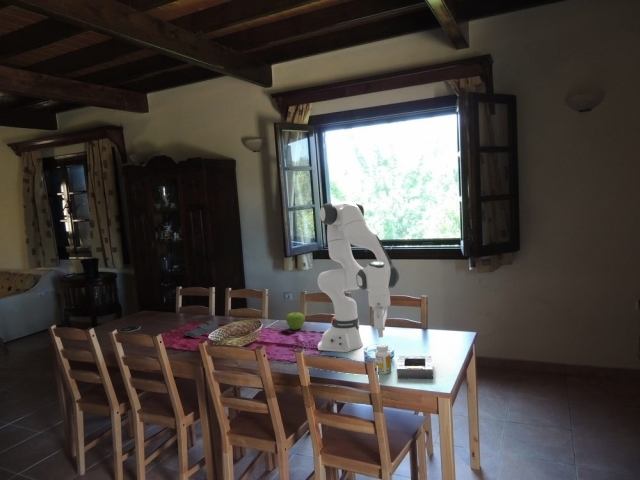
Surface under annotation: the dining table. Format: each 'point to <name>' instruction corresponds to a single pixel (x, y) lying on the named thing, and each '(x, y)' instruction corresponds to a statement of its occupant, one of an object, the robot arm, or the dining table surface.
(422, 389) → the dining table surface
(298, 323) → the apple
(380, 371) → the supplement bottle
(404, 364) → the socket holder
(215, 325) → the dark slate chunk
